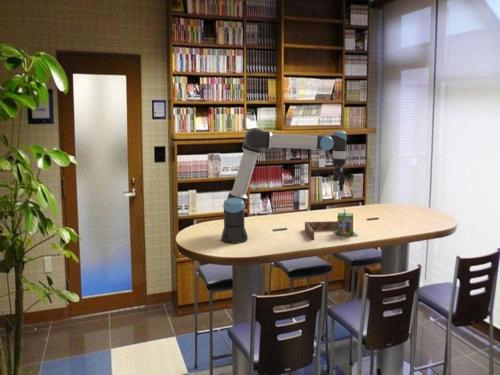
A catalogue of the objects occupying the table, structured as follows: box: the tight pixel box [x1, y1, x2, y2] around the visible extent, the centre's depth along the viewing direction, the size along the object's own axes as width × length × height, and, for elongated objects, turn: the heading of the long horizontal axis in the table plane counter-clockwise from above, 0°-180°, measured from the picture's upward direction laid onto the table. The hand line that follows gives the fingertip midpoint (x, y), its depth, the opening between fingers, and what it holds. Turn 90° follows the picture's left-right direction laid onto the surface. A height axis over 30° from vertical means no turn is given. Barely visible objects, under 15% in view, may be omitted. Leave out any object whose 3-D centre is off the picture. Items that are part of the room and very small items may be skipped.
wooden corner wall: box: [304, 220, 338, 241], centre depth 273 cm, size 29×22×5 cm
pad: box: [332, 230, 358, 238], centre depth 274 cm, size 12×12×1 cm
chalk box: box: [336, 208, 354, 235], centre depth 273 cm, size 9×9×15 cm
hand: (337, 193), depth 273 cm, fingers open, 13 cm apart
